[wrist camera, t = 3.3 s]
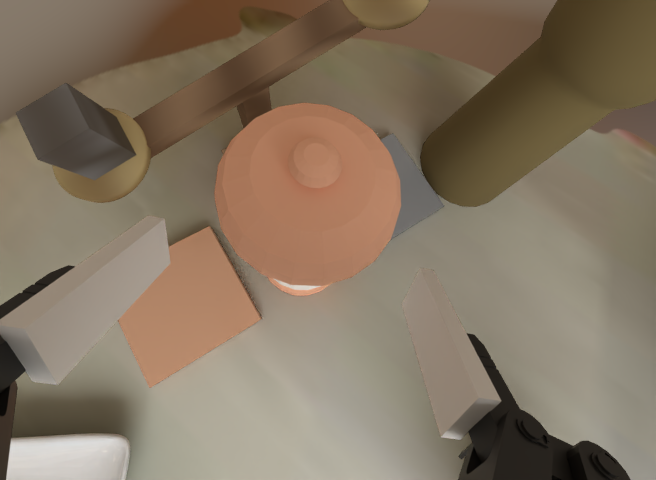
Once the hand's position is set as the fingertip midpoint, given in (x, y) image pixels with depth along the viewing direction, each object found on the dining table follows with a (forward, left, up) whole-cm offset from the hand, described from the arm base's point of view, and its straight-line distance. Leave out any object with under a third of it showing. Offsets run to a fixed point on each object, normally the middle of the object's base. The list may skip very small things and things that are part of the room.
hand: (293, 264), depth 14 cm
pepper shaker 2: (-24, -2, -12) cm, 27 cm away
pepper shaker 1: (-2, -2, -12) cm, 12 cm away
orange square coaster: (+9, -4, -12) cm, 16 cm away
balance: (-4, -13, -12) cm, 18 cm away
